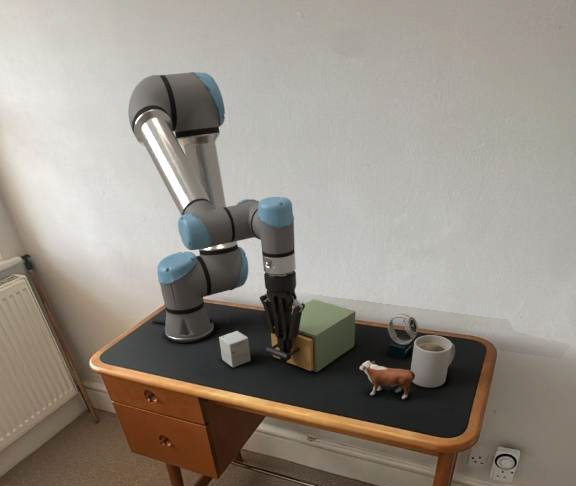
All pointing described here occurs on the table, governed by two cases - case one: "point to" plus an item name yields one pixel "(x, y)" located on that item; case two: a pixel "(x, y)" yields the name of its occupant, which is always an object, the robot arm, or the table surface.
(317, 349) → the cabinet
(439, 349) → the mug
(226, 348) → the product box
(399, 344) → the watch
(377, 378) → the bull figurine
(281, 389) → the table surface
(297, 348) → the drawer
